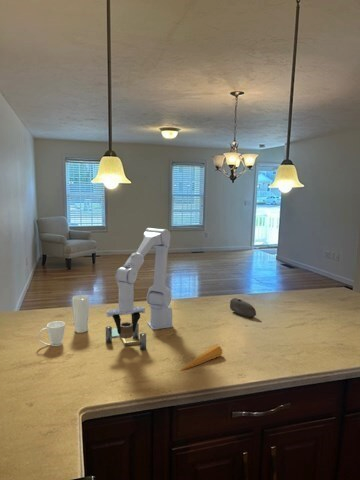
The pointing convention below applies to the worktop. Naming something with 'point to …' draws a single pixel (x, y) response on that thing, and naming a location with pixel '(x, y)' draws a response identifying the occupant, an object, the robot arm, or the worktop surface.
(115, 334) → the pad
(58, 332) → the cup
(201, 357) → the carrot
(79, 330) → the drinking glass
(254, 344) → the worktop surface
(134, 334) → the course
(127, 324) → the octagonal hollow tube
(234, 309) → the perforated stone tool
